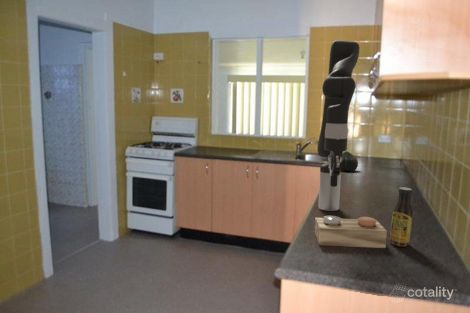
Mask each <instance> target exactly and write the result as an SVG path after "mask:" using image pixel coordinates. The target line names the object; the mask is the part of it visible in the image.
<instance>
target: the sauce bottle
mask: <svg viewBox="0 0 470 313" xmlns="http://www.w3.org/2000/svg"><path fill="white" fill-rule="evenodd" d="M412 193H413V189H412V188H409V187H405V186H404V187H403V186H402V187H398V199H397V201H396V203H395V204H394V207H393V211H392V217H391V224H390V225H391V226H390V233H389V234H390V235H389V243H390V244H391V245H393V246H396V247H400V248H404V247H408V245H409V244H410V240H411V232H412V231H411V230H412V222H413V213H414V210H413V206H412V204H411V198H412Z"/></svg>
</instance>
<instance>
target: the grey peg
mask: <svg viewBox="0 0 470 313" xmlns="http://www.w3.org/2000/svg"><path fill="white" fill-rule="evenodd" d="M322 218H323V223H324V224H326V225H331V226H338V225H340V224H341V219H342V218H341V217H339V216H336V215H324V216H323V217H322Z"/></svg>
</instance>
